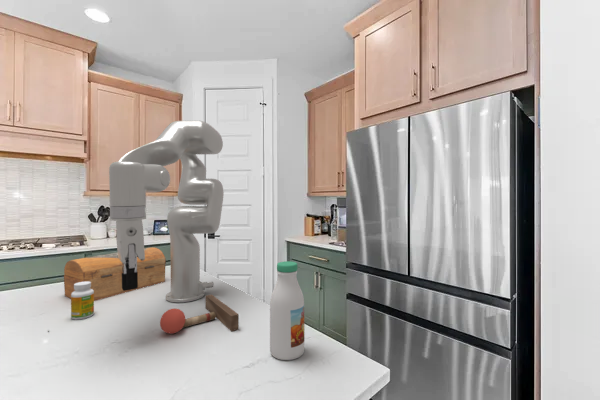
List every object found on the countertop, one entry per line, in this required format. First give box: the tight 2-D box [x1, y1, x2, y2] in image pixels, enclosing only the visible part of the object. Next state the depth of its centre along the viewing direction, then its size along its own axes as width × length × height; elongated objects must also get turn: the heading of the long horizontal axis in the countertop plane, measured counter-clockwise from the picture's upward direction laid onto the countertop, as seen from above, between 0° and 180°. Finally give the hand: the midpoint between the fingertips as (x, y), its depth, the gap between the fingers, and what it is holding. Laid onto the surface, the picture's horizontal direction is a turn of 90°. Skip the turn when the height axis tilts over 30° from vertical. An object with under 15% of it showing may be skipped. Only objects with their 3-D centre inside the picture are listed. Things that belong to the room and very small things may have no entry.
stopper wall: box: [205, 294, 240, 332], centre depth 85 cm, size 2×20×4 cm, turn 36°
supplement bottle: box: [70, 281, 95, 321], centre depth 87 cm, size 5×5×10 cm
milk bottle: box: [269, 261, 305, 361], centre depth 67 cm, size 8×8×20 cm
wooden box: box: [63, 247, 167, 302], centre depth 114 cm, size 30×16×14 cm, turn 149°
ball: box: [159, 308, 186, 334], centre depth 76 cm, size 6×6×6 cm
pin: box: [182, 312, 217, 329], centre depth 82 cm, size 2×2×9 cm
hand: (129, 288), depth 72 cm, fingers closed
